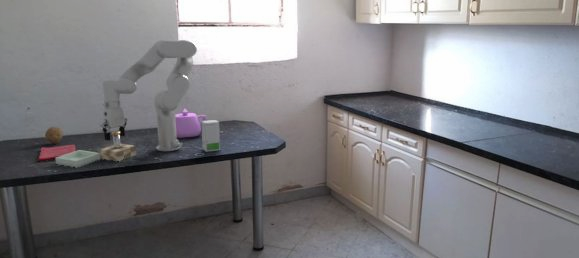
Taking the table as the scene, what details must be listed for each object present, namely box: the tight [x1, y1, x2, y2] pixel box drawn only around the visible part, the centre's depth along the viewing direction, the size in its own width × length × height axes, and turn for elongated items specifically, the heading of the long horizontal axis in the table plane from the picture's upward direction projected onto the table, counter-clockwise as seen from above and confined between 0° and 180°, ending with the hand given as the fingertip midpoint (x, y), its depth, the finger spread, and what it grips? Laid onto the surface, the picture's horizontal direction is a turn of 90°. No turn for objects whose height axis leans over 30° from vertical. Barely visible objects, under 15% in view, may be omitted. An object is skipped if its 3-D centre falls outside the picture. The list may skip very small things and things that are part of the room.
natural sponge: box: [44, 126, 64, 145], centre depth 245 cm, size 9×9×10 cm
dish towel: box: [37, 144, 76, 162], centre depth 228 cm, size 17×24×3 cm
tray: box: [55, 149, 101, 169], centre depth 214 cm, size 14×14×4 cm
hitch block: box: [99, 143, 137, 162], centre depth 221 cm, size 12×12×5 cm
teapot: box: [175, 108, 208, 139], centre depth 264 cm, size 23×21×15 cm
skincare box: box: [200, 119, 221, 153], centre depth 232 cm, size 8×7×16 cm
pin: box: [110, 130, 122, 149], centre depth 220 cm, size 4×4×13 cm
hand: (115, 137), depth 219 cm, fingers open, 9 cm apart
